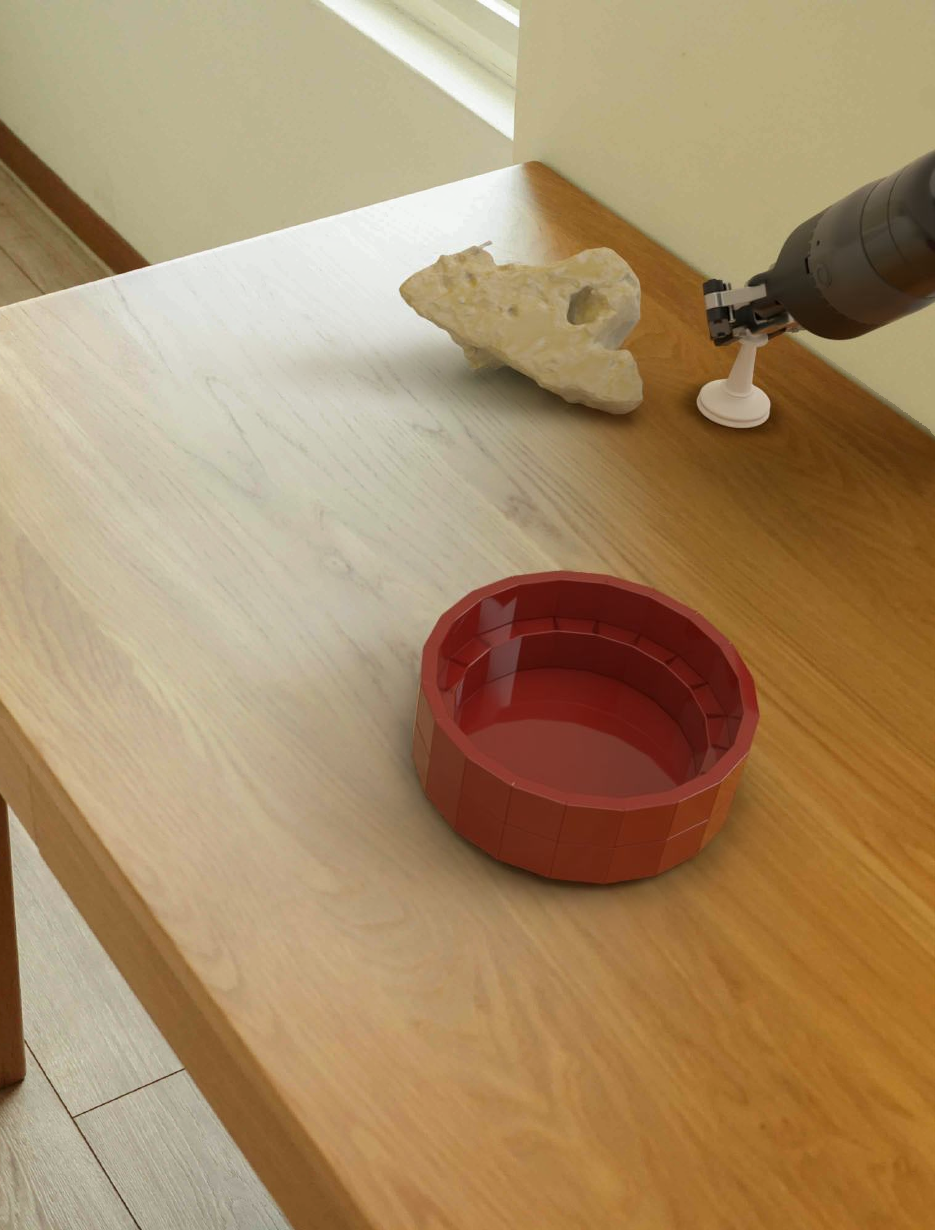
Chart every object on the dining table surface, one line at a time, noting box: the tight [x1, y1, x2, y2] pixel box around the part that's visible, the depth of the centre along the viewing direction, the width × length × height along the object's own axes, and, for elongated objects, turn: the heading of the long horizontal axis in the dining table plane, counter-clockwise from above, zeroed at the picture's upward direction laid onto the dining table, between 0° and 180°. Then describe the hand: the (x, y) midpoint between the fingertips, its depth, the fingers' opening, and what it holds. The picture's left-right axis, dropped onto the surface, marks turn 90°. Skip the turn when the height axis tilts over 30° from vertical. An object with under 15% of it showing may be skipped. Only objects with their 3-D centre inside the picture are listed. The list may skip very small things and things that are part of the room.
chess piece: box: [696, 334, 771, 429], centre depth 102 cm, size 5×5×10 cm
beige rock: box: [398, 240, 644, 415], centre depth 105 cm, size 15×7×15 cm
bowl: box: [411, 569, 761, 884], centre depth 78 cm, size 17×17×6 cm
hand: (736, 329), depth 103 cm, fingers closed on chess piece
